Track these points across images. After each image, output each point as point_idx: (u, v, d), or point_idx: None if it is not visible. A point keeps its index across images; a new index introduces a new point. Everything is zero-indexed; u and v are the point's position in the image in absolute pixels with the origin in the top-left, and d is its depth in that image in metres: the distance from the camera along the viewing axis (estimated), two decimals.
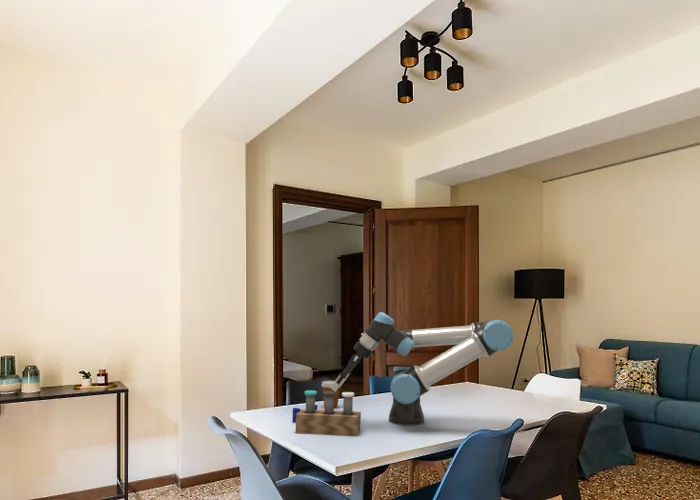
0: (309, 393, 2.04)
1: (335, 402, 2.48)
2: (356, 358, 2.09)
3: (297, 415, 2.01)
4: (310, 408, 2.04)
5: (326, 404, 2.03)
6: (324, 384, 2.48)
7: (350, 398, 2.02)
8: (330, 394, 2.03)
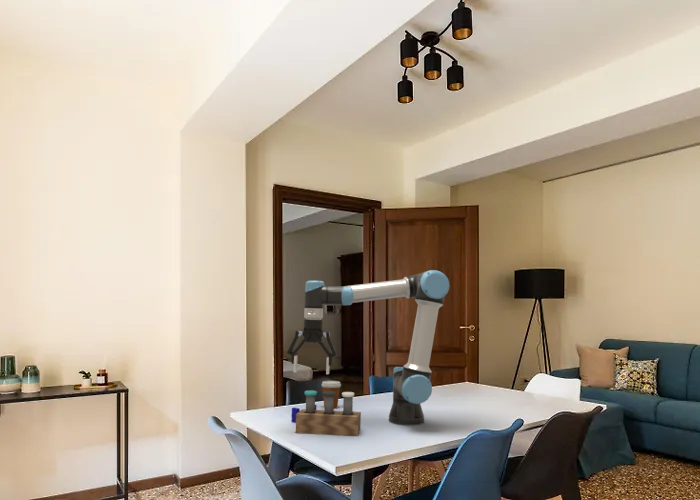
0: (309, 393, 2.04)
1: (335, 402, 2.48)
2: (329, 333, 2.08)
3: (297, 415, 2.01)
4: (310, 408, 2.04)
5: (326, 404, 2.03)
6: (324, 384, 2.48)
7: (350, 398, 2.02)
8: (330, 394, 2.03)
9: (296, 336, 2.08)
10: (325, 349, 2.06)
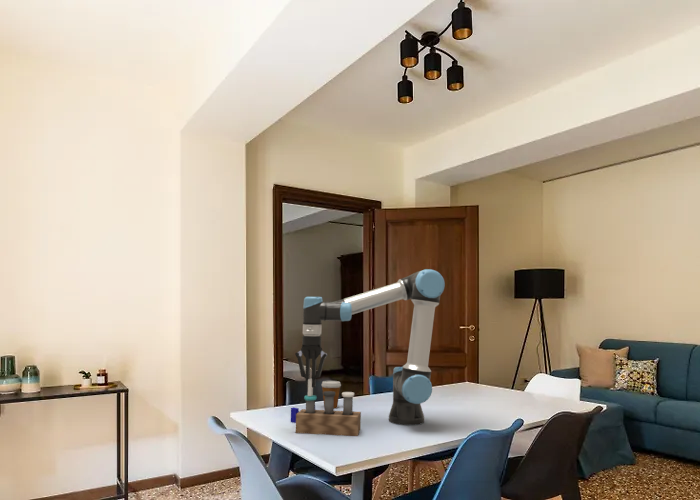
0: (309, 397, 2.03)
1: (335, 402, 2.48)
2: (326, 355, 2.07)
3: (297, 415, 2.01)
4: None
5: (326, 404, 2.03)
6: (324, 384, 2.48)
7: (350, 398, 2.02)
8: (330, 394, 2.03)
9: (298, 357, 2.07)
10: (313, 369, 2.06)
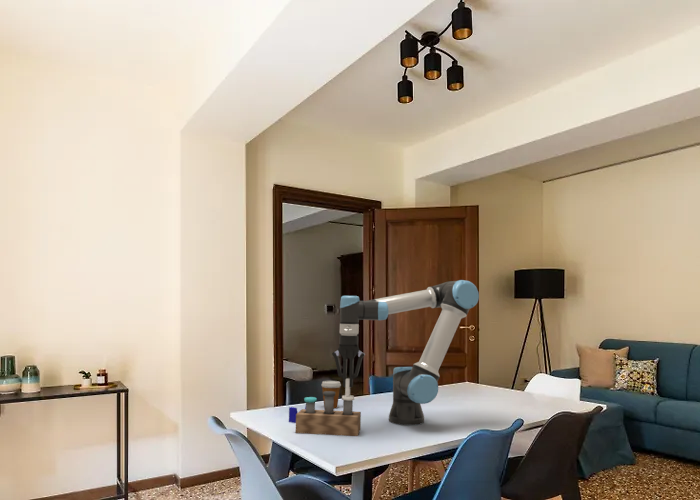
0: (309, 399, 2.03)
1: (335, 402, 2.48)
2: (363, 355, 2.05)
3: (297, 415, 2.01)
4: None
5: (326, 404, 2.03)
6: (324, 384, 2.48)
7: (350, 401, 2.02)
8: (330, 394, 2.03)
9: (335, 357, 2.05)
10: (351, 369, 2.03)
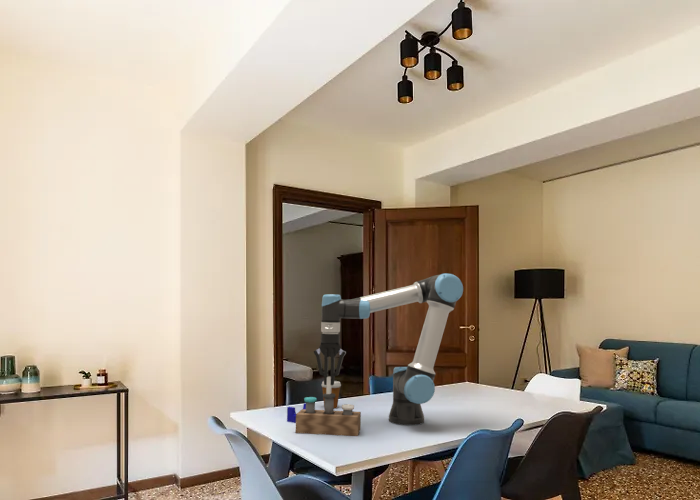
0: (309, 399, 2.03)
1: (335, 402, 2.48)
2: (345, 353, 2.06)
3: (297, 415, 2.01)
4: None
5: (326, 406, 2.03)
6: None
7: (350, 411, 2.02)
8: (330, 396, 2.03)
9: (317, 355, 2.06)
10: (332, 367, 2.05)
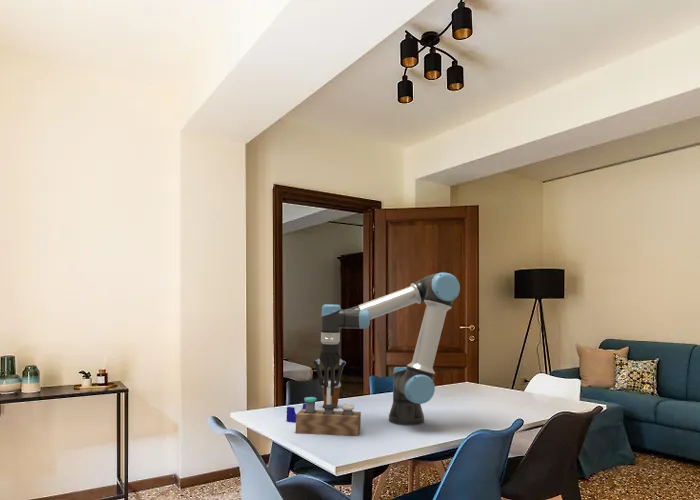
0: (309, 399, 2.03)
1: (335, 402, 2.48)
2: None
3: (297, 415, 2.01)
4: None
5: None
6: None
7: (350, 411, 2.02)
8: (330, 407, 2.02)
9: (317, 366, 2.05)
10: (332, 377, 2.04)
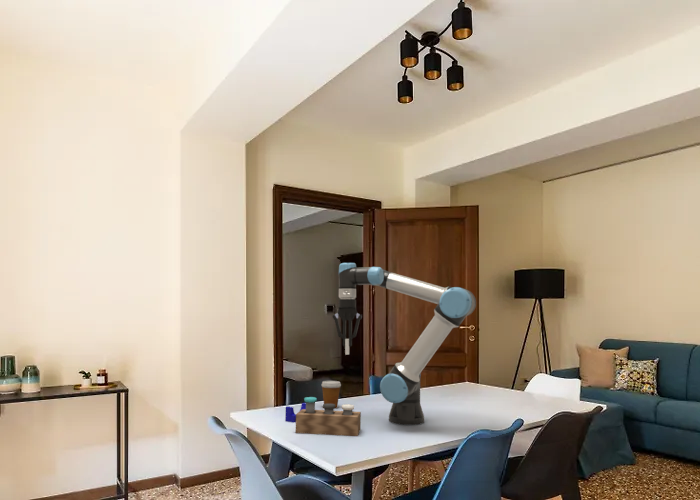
0: (309, 399, 2.03)
1: (335, 402, 2.48)
2: (361, 317, 2.23)
3: (297, 415, 2.01)
4: None
5: None
6: (324, 384, 2.48)
7: (350, 411, 2.02)
8: (330, 407, 2.02)
9: (335, 319, 2.23)
10: (350, 330, 2.22)
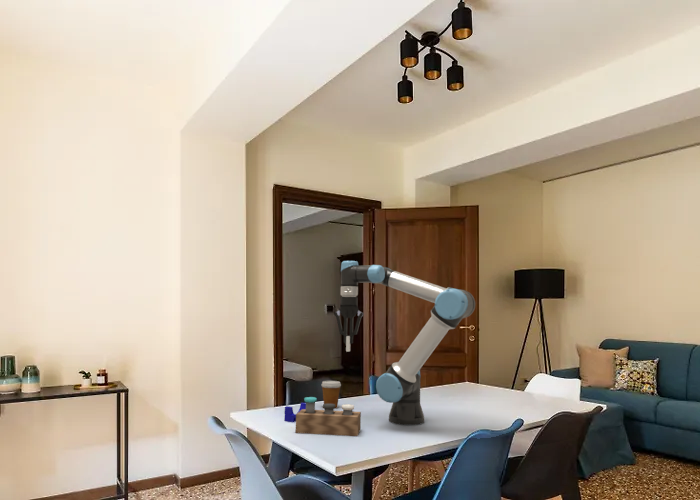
0: (309, 399, 2.03)
1: (335, 402, 2.48)
2: (362, 315, 2.25)
3: (297, 415, 2.01)
4: None
5: None
6: (324, 384, 2.48)
7: (350, 411, 2.02)
8: (330, 407, 2.02)
9: (337, 316, 2.25)
10: (351, 327, 2.24)
